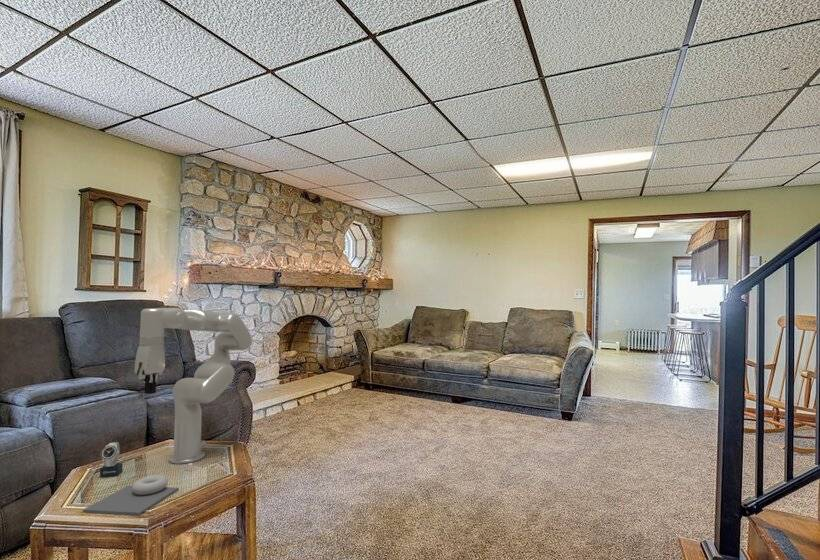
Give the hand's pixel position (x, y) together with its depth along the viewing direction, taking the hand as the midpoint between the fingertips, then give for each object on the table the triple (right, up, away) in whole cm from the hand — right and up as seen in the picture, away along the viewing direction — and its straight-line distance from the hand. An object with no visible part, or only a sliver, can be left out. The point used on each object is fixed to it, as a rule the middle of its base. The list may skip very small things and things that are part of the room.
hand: (150, 393), depth 152 cm
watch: (-14, -30, 0) cm, 32 cm away
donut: (+9, -26, -10) cm, 30 cm away
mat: (+8, -28, -21) cm, 36 cm away
